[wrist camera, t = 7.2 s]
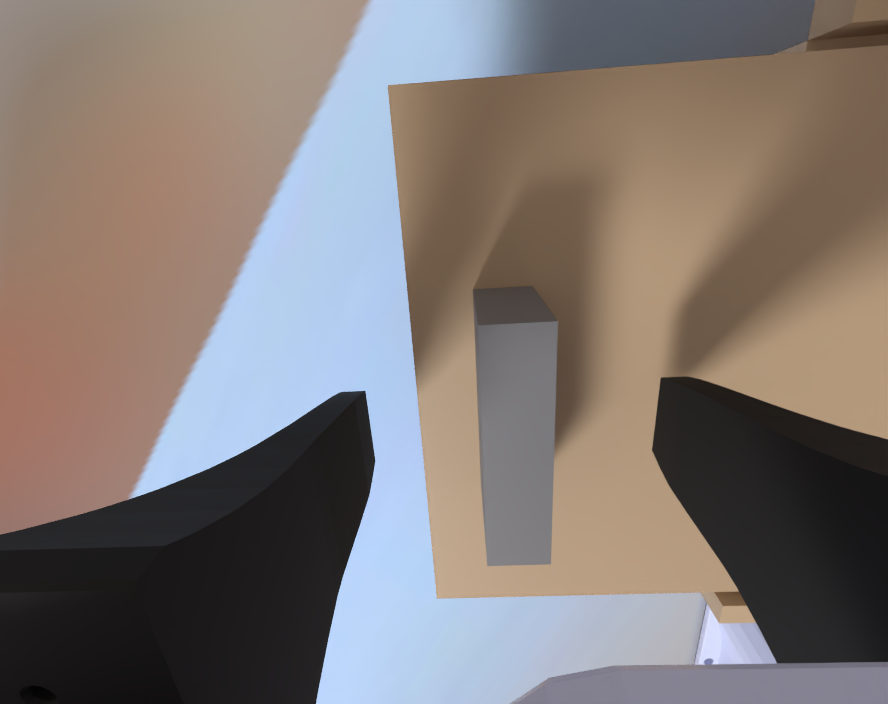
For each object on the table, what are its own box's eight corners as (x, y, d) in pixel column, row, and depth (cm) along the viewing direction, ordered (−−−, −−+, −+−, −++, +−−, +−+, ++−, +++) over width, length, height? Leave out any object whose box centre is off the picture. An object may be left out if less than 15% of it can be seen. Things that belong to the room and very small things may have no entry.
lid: (904, 569, 15) (1040, 686, 11) (437, 581, 16) (432, 693, 12) (1123, 32, 9) (1504, -51, 6) (392, 91, 10) (358, 46, 7)
